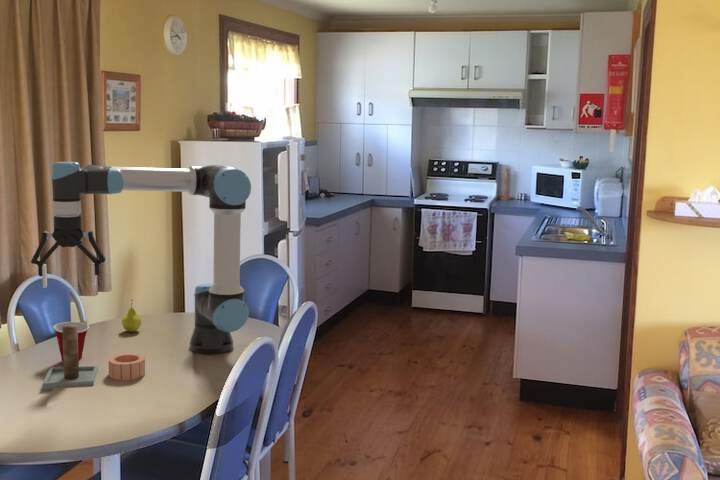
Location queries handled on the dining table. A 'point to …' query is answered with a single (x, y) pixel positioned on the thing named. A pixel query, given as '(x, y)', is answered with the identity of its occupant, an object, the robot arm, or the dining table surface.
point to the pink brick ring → (126, 366)
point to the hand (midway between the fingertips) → (69, 286)
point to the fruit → (131, 321)
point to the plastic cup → (81, 336)
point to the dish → (57, 380)
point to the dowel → (70, 351)
